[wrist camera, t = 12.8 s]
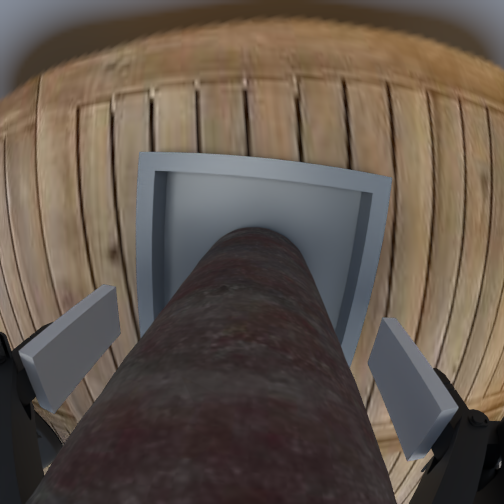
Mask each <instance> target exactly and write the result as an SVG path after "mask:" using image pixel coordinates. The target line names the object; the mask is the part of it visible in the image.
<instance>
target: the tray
mask: <svg viewBox="0 0 504 504" xmlns="http://www.w3.org/2000/svg"><path fill="white" fill-rule="evenodd" d="M391 183H392V178H391V177H386V176H381V175H376V174H371V173H366V172H360V171H355V170H349V169H343V168H337V167H331V166H324V165H317V164H310V163H303V162H295V161H287V160H278V159H269V158H258V157H247V156H235V155H221V154H204V153H180V152H139V164H138V179H137V201H136V273H137V295H138V310H139V323H140V334H141V337H142V336H143V335H144V333H145V332H146V331H147V329H148V328H149V327H150V326H151V324H152V323H153V321H154V320H155V319H156V317H157V316H158V315H159V313H160V312H161V311H162V310H163V309H164V307H165V306H166V305H167V303H168V302H169V301H170V299H171V298H172V297H173V295H174V294H175V293H176V291H177V290H178V289H179V287H180V286H181V284H182V283H183V282H184V281H185V279H186V278H187V277H188V276H189V275H190V273H191V272H192V271H193V269H194V268H195V267H196V265H197V263H198V262H199V261H200V260H201V258H202V257H203V256H204V255H205V254H206V253H207V252H208V250H209V249H210V248H211V247H212V246H213V245H214V244H215V242H216V241H218V240H219V239H220V238H221V237H222V236H224V235H226V234H227V233H229V232H231V231H234V230H236V229H239V228H246V227H260V228H267V229H270V230H272V231H275V232H277V233H279V234H281V235H283V236H285V237H286V238H288V239H289V240H290V241H291V242H292V243H293V244H294V245H295V246H296V247H297V248H298V249H299V250H300V252H301V254H302V256H303V258H304V259H305V261H306V264H307V266H308V268H309V270H310V272H311V274H312V276H313V279H314V281H315V284H316V286H317V289H318V291H319V293H320V296H321V298H322V301H323V303H324V305H325V308H326V310H327V313H328V316H329V318H330V320H331V323H332V325H333V328H334V331H335V333H336V335H337V338H338V340H339V342H340V345H341V348H342V350H343V353H344V356H345V358H346V361H347V363H348V366H349V368H350V366H351V363H352V360H353V356H354V353H355V350H356V347H357V344H358V340H359V337H360V334H361V330H362V327H363V323H364V320H365V316H366V312H367V308H368V305H369V301H370V297H371V293H372V288H373V284H374V280H375V275H376V271H377V266H378V262H379V257H380V252H381V247H382V241H383V236H384V230H385V225H386V218H387V212H388V206H389V199H390V191H391Z"/></svg>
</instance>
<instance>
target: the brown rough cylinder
mask: <svg viewBox="0 0 504 504" xmlns="http://www.w3.org/2000/svg"><path fill="white" fill-rule="evenodd" d="M25 504H397V503H396V499H395V496H394V492H393V488H392V485H391V481H390V478H389V474H388V471H387V468H386V466H385V463H384V460H383V458H382V455H381V452H380V449H379V446H378V443H377V440H376V437H375V435H374V432H373V429H372V426H371V423H370V421H369V418H368V415H367V412H366V409H365V407H364V404H363V401H362V398H361V396H360V393H359V390H358V387H357V385H356V382H355V379H354V377H353V375H352V373H351V370H350V368H349V366H348V363H347V361H346V358H345V356H344V353H343V350H342V348H341V345H340V342H339V340H338V338H337V335H336V333H335V331H334V328H333V325H332V323H331V320H330V318H329V316H328V313H327V310H326V308H325V305H324V303H323V301H322V298H321V296H320V293H319V291H318V289H317V286H316V284H315V281H314V279H313V276H312V274H311V272H310V270H309V268H308V266H307V264H306V261H305V259H304V258H303V256H302V254H301V252H300V250H299V249H298V248H297V247H296V246H295V245H294V244H293V243H292V242H291V241H290V240H289V239H288V238H286V237H285V236H283V235H281V234H279V233H277V232H275V231H272V230H270V229H267V228H260V227H246V228H239V229H236V230H234V231H231V232H229V233H227V234H226V235H224V236H222V237H221V238H220V239H219V240H218V241H216V242H215V244H214V245H213V246H212V247H211V248H210V249H209V250H208V252H207V253H206V254H205V255H204V256H203V257H202V258H201V260H200V261H199V262H198V263H197V265H196V267H195V268H194V269H193V271H192V272H191V273H190V275H189V276H188V277H187V278H186V279H185V281H184V282H183V283H182V284H181V286H180V287H179V289H178V290H177V291H176V293H175V294H174V295H173V297H172V298H171V299H170V301H169V302H168V303H167V305H166V306H165V307H164V309H163V310H162V311H161V312H160V313H159V315H158V316H157V317H156V319H155V320H154V321H153V323H152V324H151V326H150V327H149V328H148V329H147V331H146V332H145V333H144V335H143V336H142V337H141V339H140V340H139V341H138V343H137V344H136V345H135V347H134V348H133V349H132V350H131V351H130V353H129V354H128V355H127V356H126V358H125V359H124V361H123V362H122V363H121V365H120V366H119V368H118V369H117V371H116V372H115V373H114V375H113V376H112V378H111V379H110V381H109V382H108V384H107V385H106V387H105V388H104V390H103V391H102V393H101V394H100V395H99V397H98V398H97V399H96V401H95V402H94V403H93V405H92V406H91V407H90V408H89V410H88V411H87V412H86V414H85V415H84V416H83V418H82V419H81V420H80V422H79V423H78V424H77V426H76V427H75V429H74V430H73V432H72V433H71V435H70V436H69V437H68V439H67V440H66V442H65V444H64V445H63V447H62V448H61V450H60V451H59V453H58V454H57V456H56V458H55V459H54V461H53V462H52V464H51V466H50V467H49V469H48V471H47V472H46V474H45V476H44V477H43V479H42V481H41V482H40V484H39V485H38V487H37V488H36V490H35V491H34V493H33V494H32V496H31V497H30V498H29V499H28V500H27V502H26V503H25Z"/></svg>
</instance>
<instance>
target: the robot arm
mask: <svg viewBox="0 0 504 504" xmlns="http://www.w3.org/2000/svg"><path fill="white" fill-rule="evenodd" d="M120 334H121V332H120V324H119V315H118V306H117V295H116V287H115V286H110V285H104V284H103V285H102V286H100V287H99V288H98V289H96V290H95V291H94V292H92V293H91V294H90V295H88V296H87V297H86V298H84V299H83V300H82V301H80V302H79V303H78V304H76V305H75V306H74V307H72V308H71V309H70V310H69V311H67V312H66V313H65V314H63V315H62V316H61V317H60V318H58V319H57V320H56V321H55V322H52V323H49V324H47V325H44V326H42V327H41V328H40V329H38V330H37V331H36V332H35V333H33V334H32V335H31V336H30V338H27V339H26V340H25V341H23V342H22V343H21V344H20V345H19V346H17V347H16V348H15V349H14V350H13V351H11V348H10V345H9V342H8V339H7V336H6V335H5V334H4V333H2V332H0V504H25V503H26V502H27V500H28V499H29V498H30V497H31V496H32V494H33V493H34V491H35V490H36V488H37V487H38V485H39V484H40V482H41V481H42V479H43V477H44V472H43V469H44V468H45V467H47V466H48V465H50V464H51V463H52V462H53V461H54V459H55V458H56V456H57V454H58V453H59V451H60V450H61V448H62V445H61V443H60V441H59V439H58V438H57V436H56V435H55V433H54V432H53V431H52V430H51V428H50V427H49V426H48V425H47V424H46V423H45V422H44V421H43V420H42V418H41V417H40V416H39V415H38V414H36V413H35V412H34V406H33V404H32V400H33V399H34V398H35V397H36V398H37V400H38V403H39V405H40V407H42V408H44V409H46V410H48V411H50V412H52V413H54V414H55V412H56V411H57V410H58V409H59V407H60V406H61V405H62V403H63V402H64V401H65V400H66V398H67V397H68V396H69V395H70V393H71V392H72V391H73V390H74V389H75V387H76V386H77V385H78V384H79V382H80V381H81V380H82V379H83V378H84V376H85V375H86V374H87V373H88V371H89V370H90V369H91V368H92V367H93V365H94V364H95V363H96V362H97V361H98V360H99V358H100V357H101V356H102V355H103V354H104V352H105V351H106V350H107V349H108V348H109V347H110V345H111V344H112V343H113V342H114V341H115V340H116V338H117V337H118V336H119V335H120ZM368 365H369V368H370V370H371V372H372V375H373V377H374V379H375V382H376V384H377V386H378V389H379V391H380V393H381V396H382V398H383V401H384V403H385V405H386V408H387V410H388V413H389V415H390V418H391V420H392V423H393V425H394V428H395V430H396V433H397V435H398V438H399V441H400V443H401V446H402V449H403V451H404V454H405V457H406V459H407V461H411V460H416V459H421V458H424V457H425V456H426V454H427V453H428V452H429V450H430V449H432V451H433V453H434V456H433V457H432V458H431V459H430V461H429V462H428V463H427V464H426V465H425V467H424V468H423V469H422V470H421V472H424V470H425V469H426V470H425V472H424V475H423V477H422V479H421V481H420V483H419V485H418V487H417V489H416V491H415V493H414V495H413V497H412V499H411V500H410V502H409V504H504V417H503V418H502V420H501V421H489V419H488V417H487V416H486V415H485V414H484V413H482V412H480V411H478V410H474V409H472V410H469V409H468V407H467V406H466V404H465V403H464V401H463V400H462V398H461V397H460V395H459V394H458V392H457V391H456V390H454V387H453V385H452V384H450V381H449V380H448V378H447V377H446V375H445V374H444V373H442V372H441V371H440V370H438V369H437V368H432V367H431V365H430V364H429V363H428V361H427V360H426V358H425V357H424V356H423V354H422V353H421V351H420V350H419V349H418V347H417V346H416V344H415V343H414V342H413V340H412V339H411V338H410V336H409V335H408V334H407V332H406V331H405V330H404V328H403V327H402V326H401V324H400V323H399V322H398V320H397V319H396V318H383V317H382V320H381V324H380V327H379V330H378V334H377V337H376V340H375V343H374V346H373V349H372V352H371V355H370V358H369V361H368ZM500 461H502V462H501V468H499V462H500Z"/></svg>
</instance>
